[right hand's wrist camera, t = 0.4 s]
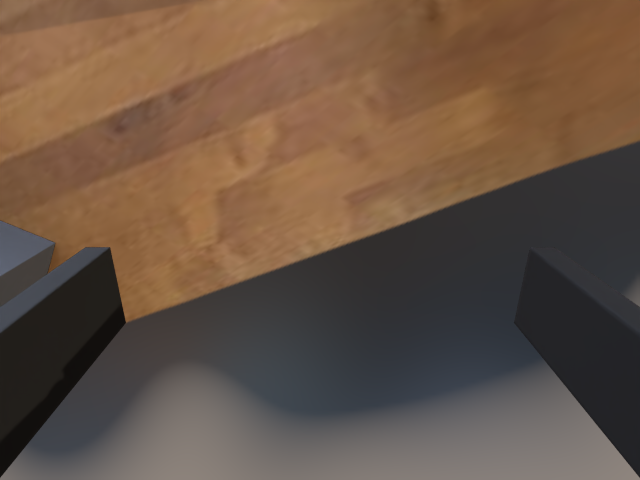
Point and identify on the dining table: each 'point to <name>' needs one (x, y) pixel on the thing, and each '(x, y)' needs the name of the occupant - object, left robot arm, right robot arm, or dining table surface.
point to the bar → (21, 260)
